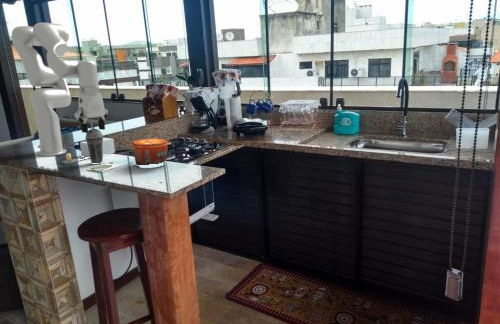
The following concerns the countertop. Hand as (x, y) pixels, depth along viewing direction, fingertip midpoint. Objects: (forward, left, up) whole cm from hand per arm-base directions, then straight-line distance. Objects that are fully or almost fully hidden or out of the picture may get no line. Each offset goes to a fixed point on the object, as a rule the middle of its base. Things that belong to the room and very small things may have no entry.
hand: (93, 130), depth 160 cm
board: (+9, -1, -15) cm, 17 cm away
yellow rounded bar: (-13, -1, -15) cm, 19 cm away
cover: (-13, +12, -15) cm, 23 cm away
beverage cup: (0, 0, -15) cm, 15 cm away
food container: (+23, +9, -15) cm, 29 cm away
